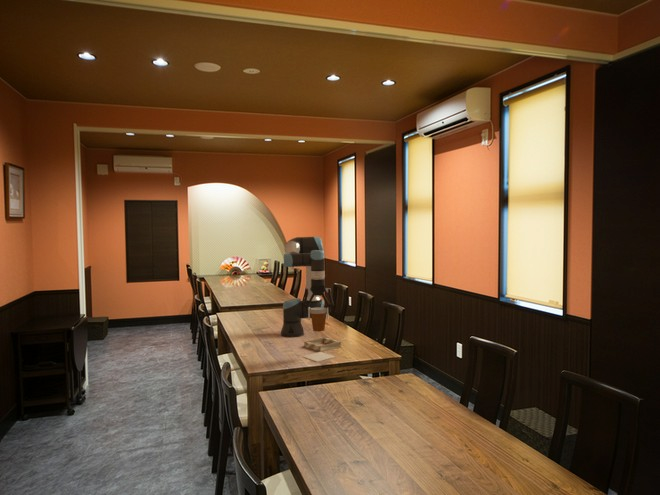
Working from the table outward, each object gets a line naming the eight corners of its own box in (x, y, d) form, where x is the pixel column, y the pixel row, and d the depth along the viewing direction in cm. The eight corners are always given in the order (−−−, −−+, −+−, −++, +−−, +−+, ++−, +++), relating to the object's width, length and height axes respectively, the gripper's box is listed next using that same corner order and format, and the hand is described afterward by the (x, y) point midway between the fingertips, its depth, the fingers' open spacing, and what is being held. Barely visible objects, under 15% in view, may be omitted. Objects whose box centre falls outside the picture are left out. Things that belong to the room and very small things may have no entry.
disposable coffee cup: (325, 332, 251) (325, 310, 250) (308, 332, 253) (307, 310, 252) (329, 328, 260) (328, 307, 260) (312, 328, 262) (312, 306, 262)
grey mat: (302, 356, 258) (302, 356, 258) (320, 352, 266) (320, 351, 266) (317, 362, 248) (317, 361, 248) (335, 357, 256) (335, 356, 256)
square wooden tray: (304, 346, 279) (304, 341, 279) (324, 342, 289) (324, 337, 289) (320, 351, 267) (320, 346, 267) (340, 346, 277) (340, 341, 277)
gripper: (296, 279, 252) (297, 320, 253) (337, 279, 251) (338, 320, 252) (298, 277, 260) (299, 317, 261) (338, 277, 258) (339, 317, 259)
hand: (318, 319), depth 256 cm, fingers closed on disposable coffee cup, 9 cm apart
